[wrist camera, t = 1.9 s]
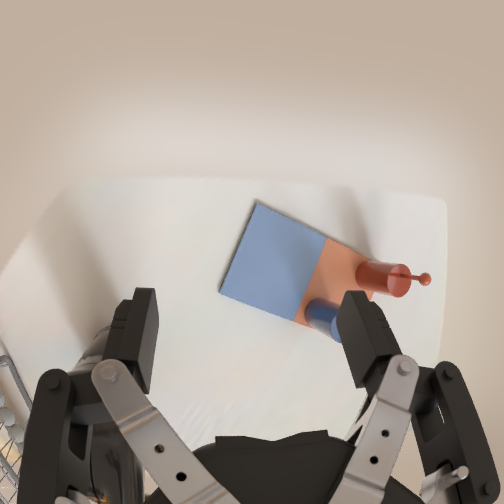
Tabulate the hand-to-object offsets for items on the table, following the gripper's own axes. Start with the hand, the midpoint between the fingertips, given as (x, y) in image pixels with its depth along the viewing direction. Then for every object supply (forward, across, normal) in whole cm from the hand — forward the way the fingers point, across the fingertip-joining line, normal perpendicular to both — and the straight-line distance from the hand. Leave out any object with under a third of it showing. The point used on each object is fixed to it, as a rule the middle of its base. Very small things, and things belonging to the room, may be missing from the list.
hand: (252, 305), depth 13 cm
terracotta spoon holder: (+34, +27, -26) cm, 51 cm away
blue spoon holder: (+29, +17, -31) cm, 46 cm away
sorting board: (+33, +15, -26) cm, 45 cm away
